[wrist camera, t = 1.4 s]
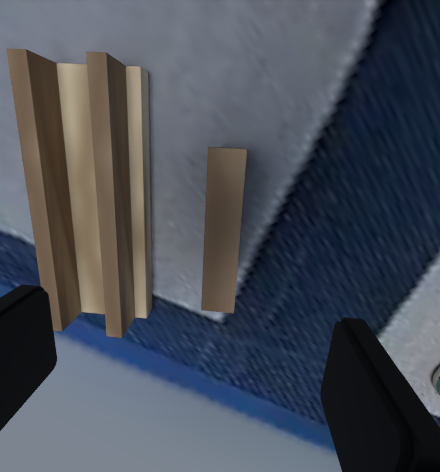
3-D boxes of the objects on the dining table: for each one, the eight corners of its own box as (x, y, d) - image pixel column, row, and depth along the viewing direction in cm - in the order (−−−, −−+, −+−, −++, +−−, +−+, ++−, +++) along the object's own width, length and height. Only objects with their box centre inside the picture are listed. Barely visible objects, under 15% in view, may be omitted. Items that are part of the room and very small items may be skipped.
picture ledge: (148, 72, 25) (123, 53, 20) (152, 308, 33) (134, 338, 27) (41, 68, 26) (-10, 47, 21) (68, 300, 33) (35, 328, 28)
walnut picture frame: (246, 149, 27) (247, 149, 18) (236, 266, 30) (233, 313, 22) (219, 147, 27) (208, 147, 18) (213, 264, 30) (201, 310, 22)
